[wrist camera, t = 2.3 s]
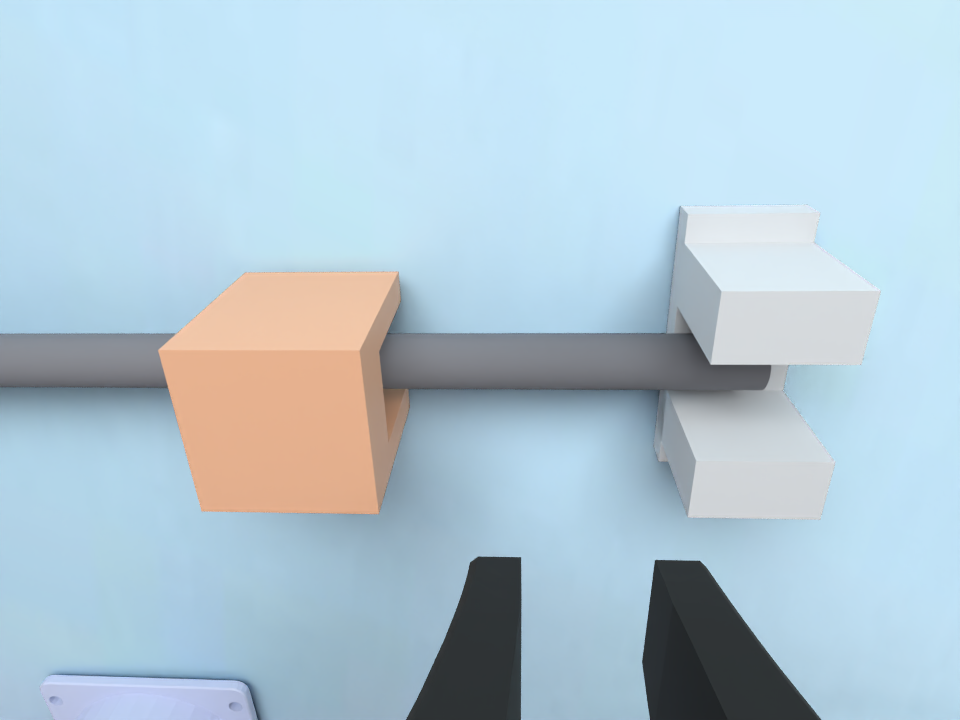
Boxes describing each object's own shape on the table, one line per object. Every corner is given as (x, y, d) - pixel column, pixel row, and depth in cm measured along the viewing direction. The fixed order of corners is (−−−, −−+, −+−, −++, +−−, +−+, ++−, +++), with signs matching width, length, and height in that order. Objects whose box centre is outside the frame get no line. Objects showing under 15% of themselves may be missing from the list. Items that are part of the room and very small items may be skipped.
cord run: (806, 204, 16) (890, 255, 12) (758, 446, 19) (813, 543, 15) (-548, 220, 18) (-812, 267, 14) (-389, 435, 21) (-574, 518, 18)
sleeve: (398, 271, 17) (359, 350, 13) (409, 406, 19) (378, 514, 14) (245, 272, 17) (158, 349, 13) (270, 405, 19) (201, 511, 15)
